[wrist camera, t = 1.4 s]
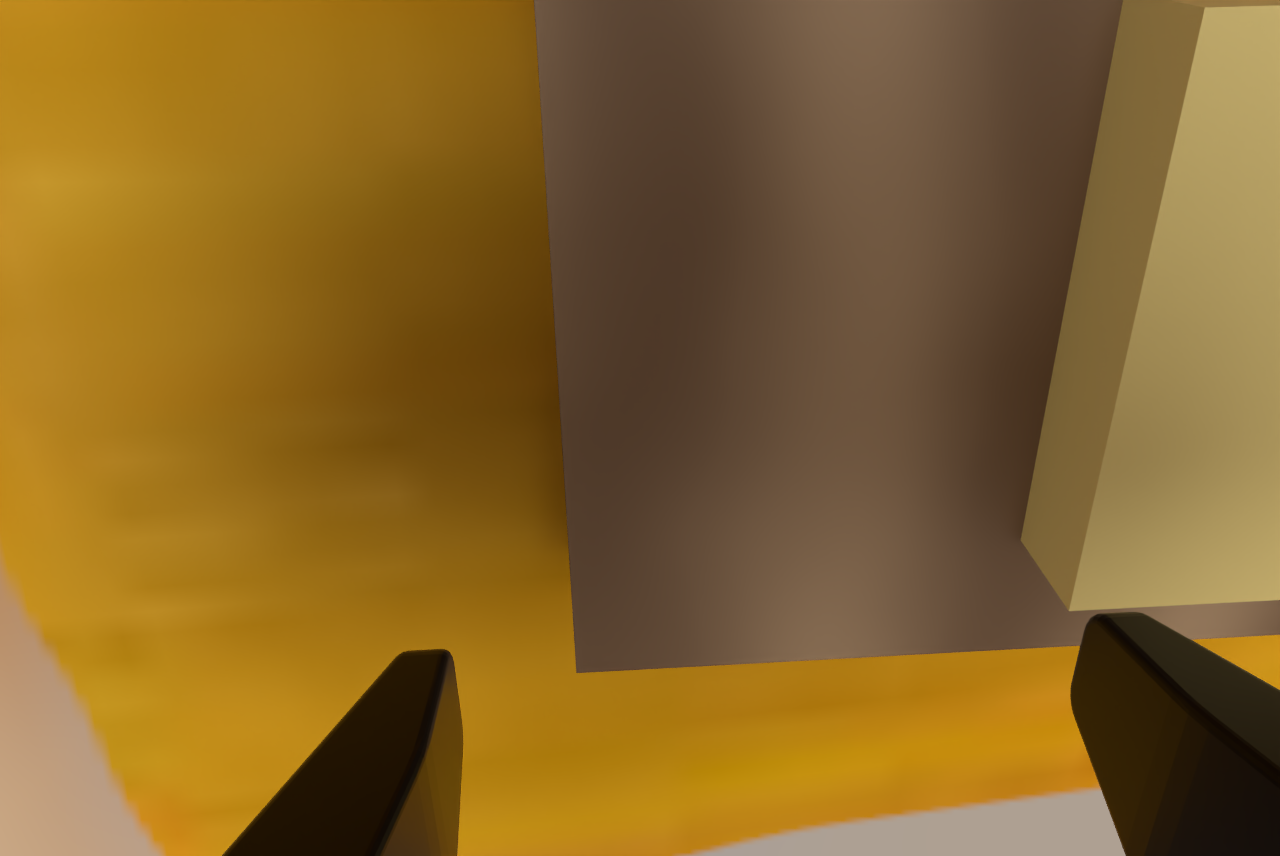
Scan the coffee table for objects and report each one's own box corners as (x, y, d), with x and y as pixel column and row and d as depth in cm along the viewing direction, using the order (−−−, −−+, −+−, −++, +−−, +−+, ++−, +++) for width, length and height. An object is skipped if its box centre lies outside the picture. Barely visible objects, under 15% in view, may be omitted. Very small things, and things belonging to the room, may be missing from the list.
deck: (1521, -213, 17) (1777, -238, 13) (1281, 513, 23) (1408, 627, 20) (531, -195, 16) (520, -216, 12) (575, 549, 22) (576, 672, 19)
